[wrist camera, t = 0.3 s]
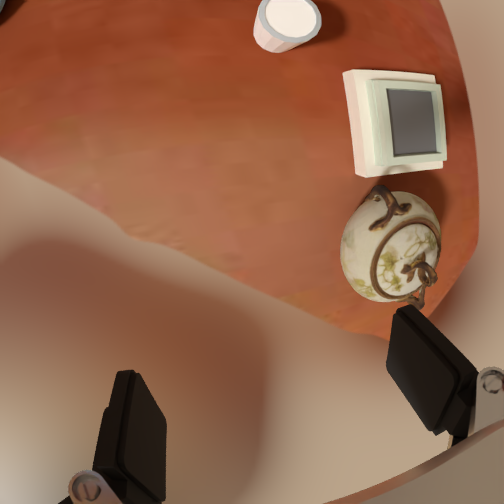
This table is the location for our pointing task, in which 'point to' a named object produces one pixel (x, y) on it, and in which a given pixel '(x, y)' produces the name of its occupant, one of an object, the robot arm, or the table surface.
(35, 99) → the table surface
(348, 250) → the sugar bowl
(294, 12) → the white short cylinder
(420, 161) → the stand
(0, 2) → the decorative pot
